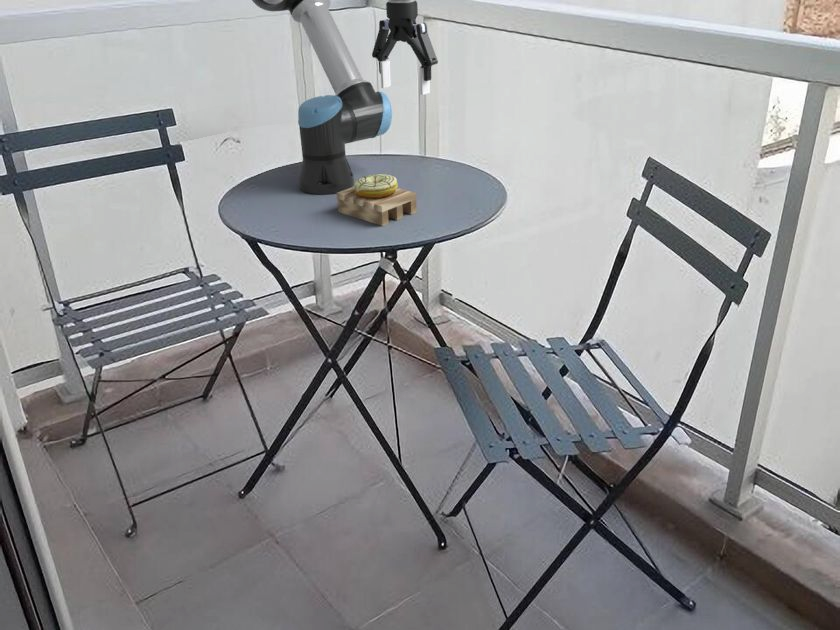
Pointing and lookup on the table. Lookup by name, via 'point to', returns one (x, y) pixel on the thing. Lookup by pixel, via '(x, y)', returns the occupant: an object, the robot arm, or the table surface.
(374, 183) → the decorated donut
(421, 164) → the table surface
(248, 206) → the table surface
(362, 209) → the pallet
